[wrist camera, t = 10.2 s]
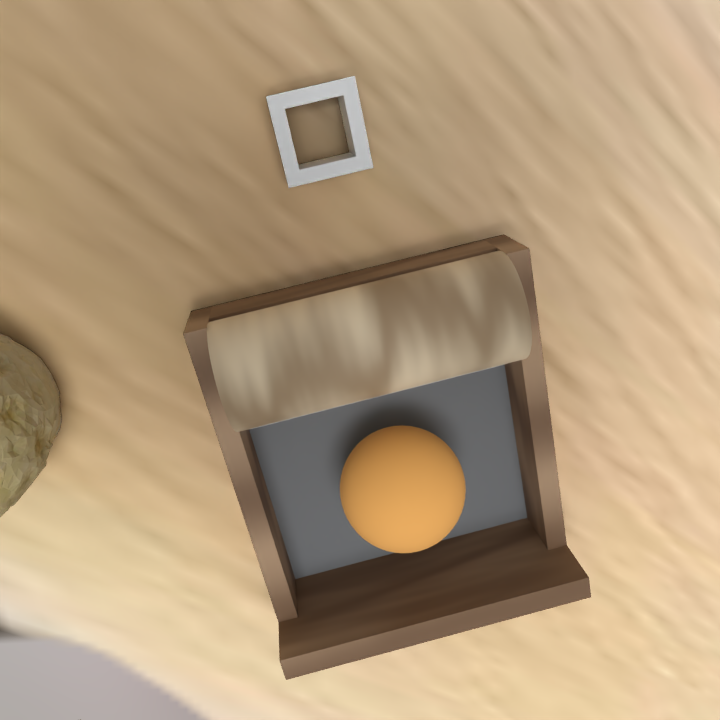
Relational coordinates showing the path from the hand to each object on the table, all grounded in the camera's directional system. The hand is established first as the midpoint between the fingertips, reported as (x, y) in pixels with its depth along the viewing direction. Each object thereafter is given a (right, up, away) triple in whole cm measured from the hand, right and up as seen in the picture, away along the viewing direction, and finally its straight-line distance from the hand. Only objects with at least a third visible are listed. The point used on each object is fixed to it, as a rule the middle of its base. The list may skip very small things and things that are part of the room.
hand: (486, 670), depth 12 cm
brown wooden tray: (-1, +2, +24) cm, 24 cm away
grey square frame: (-4, +15, +19) cm, 24 cm away
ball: (0, -1, +21) cm, 21 cm away
